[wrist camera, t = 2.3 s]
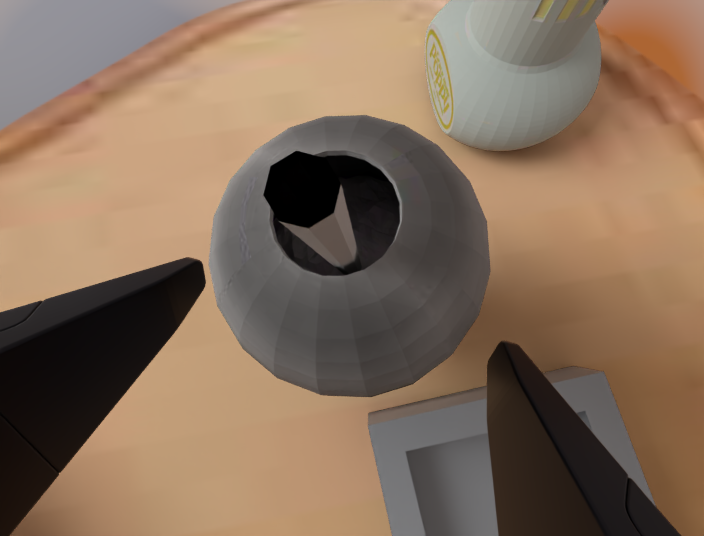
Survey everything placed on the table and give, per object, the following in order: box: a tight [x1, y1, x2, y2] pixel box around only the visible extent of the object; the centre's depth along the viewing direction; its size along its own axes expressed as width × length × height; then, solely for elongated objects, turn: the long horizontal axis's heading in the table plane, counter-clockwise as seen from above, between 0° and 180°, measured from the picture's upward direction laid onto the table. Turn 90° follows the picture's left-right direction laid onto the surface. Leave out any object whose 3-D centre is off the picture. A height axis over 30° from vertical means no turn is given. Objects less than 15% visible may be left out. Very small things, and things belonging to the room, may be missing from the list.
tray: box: [368, 366, 656, 536], centre depth 16 cm, size 13×13×2 cm
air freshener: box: [425, 0, 609, 151], centre depth 17 cm, size 11×8×10 cm
